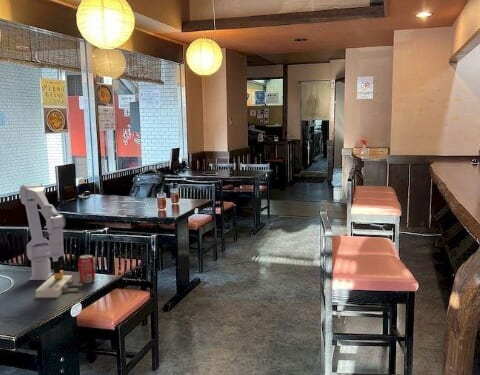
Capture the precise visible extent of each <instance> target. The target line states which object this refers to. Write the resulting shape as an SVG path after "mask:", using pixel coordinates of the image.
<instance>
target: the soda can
mask: <svg viewBox="0 0 480 375" xmlns="http://www.w3.org/2000/svg"><path fill="white" fill-rule="evenodd" d="M77 265H78V269H77V270H78V281H79V283H83V284H91V283H92V282H94V281H95V278H96V271H95V270H96V269H95V268H96V266H95V258H94V256H93V255H92V254H82V255H80V256H79V259H78V264H77Z"/></svg>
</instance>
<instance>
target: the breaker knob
mask: <svg viewBox="0 0 480 375" xmlns="http://www.w3.org/2000/svg"><path fill="white" fill-rule="evenodd" d="M53 274H54V279H62V278H63V275H64V270H62V269H60V273H54V272H53Z"/></svg>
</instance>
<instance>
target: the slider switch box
mask: <svg viewBox="0 0 480 375" xmlns="http://www.w3.org/2000/svg"><path fill="white" fill-rule="evenodd" d="M68 281H73V275H71V274H70V275H68V274H67V275H66V274H65V275H64V274H63V278H62V279H54V275H53V274H52V275H51V276H50V277H49V278H48V279H47V280H45V282H43V283H42V284H41V285H39V287H38V288H37V289H36V290H35V298H38V299H39V298H59V297H60V296H61V295H62V294H64V293H63V286H68Z"/></svg>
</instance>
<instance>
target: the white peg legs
mask: <svg viewBox="0 0 480 375" xmlns="http://www.w3.org/2000/svg"><path fill="white" fill-rule="evenodd" d="M83 285H84V283H81V282H79V283H78V282H77V283H74V282H73V280H72V281H68V286H63V293H62V294H64V293H66V294H67V293H78V292H79V288H73V287H83Z"/></svg>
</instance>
